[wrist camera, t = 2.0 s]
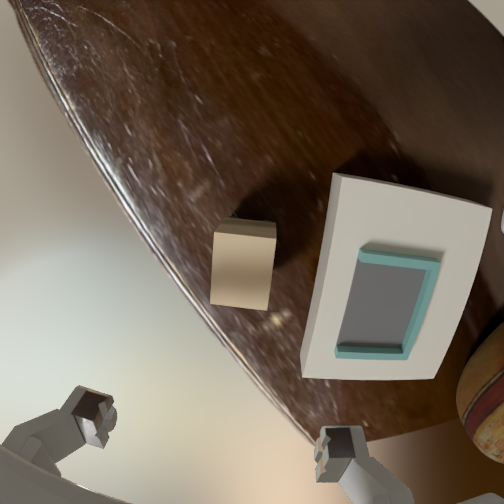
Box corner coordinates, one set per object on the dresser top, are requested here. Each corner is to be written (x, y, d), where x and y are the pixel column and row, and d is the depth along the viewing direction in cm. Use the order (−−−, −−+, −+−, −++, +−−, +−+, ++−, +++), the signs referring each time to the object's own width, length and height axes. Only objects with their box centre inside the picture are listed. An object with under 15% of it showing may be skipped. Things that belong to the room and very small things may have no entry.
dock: (332, 172, 28) (345, 178, 23) (471, 200, 27) (499, 211, 23) (299, 354, 34) (303, 384, 30) (422, 358, 34) (437, 384, 29)
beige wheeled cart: (226, 213, 30) (214, 232, 24) (275, 218, 30) (276, 239, 23) (222, 272, 32) (210, 303, 26) (268, 277, 32) (266, 310, 25)
